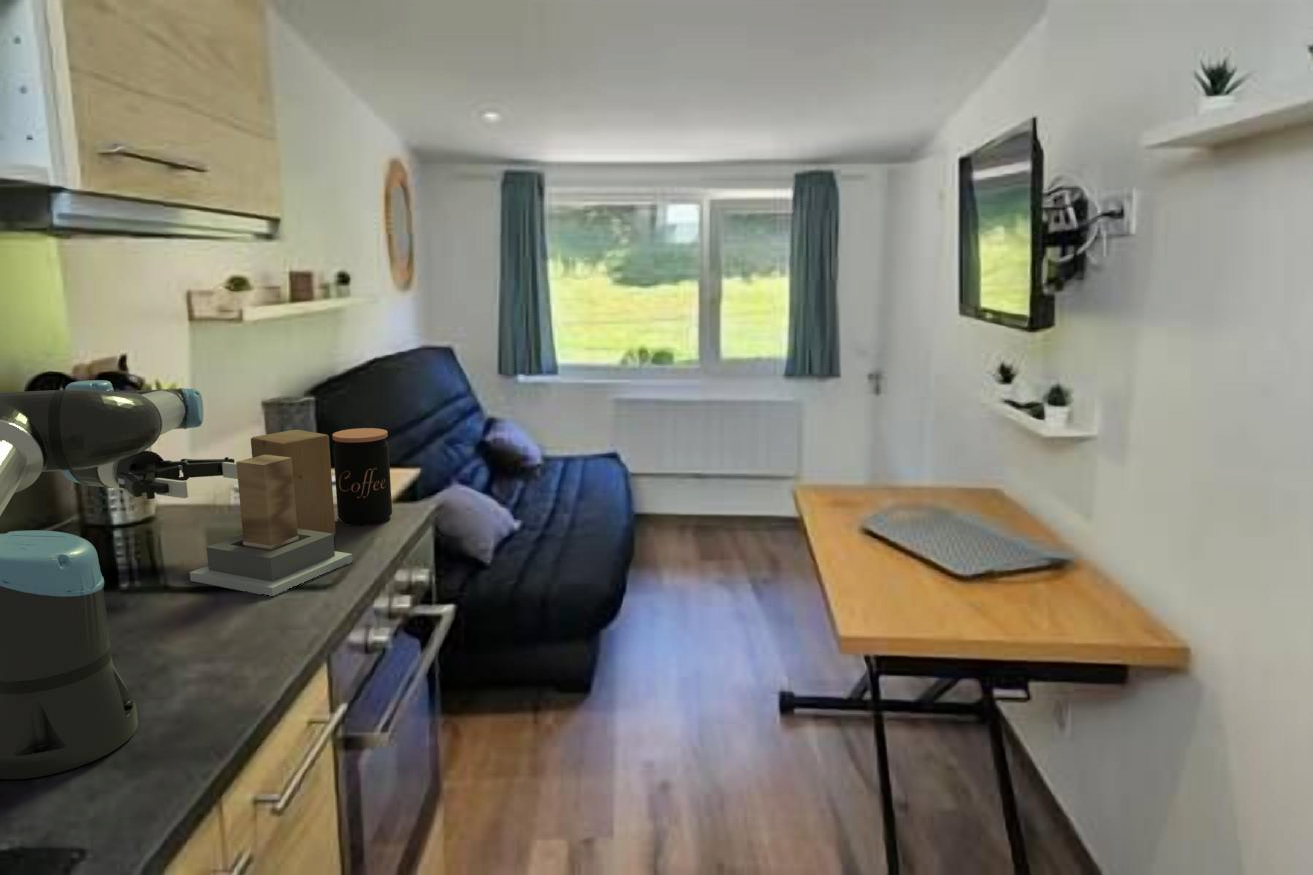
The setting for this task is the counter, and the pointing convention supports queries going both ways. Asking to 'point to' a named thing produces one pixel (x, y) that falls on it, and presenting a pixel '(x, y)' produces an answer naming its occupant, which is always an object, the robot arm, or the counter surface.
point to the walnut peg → (267, 502)
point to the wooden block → (305, 474)
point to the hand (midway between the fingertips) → (219, 480)
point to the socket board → (269, 585)
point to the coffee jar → (362, 476)
